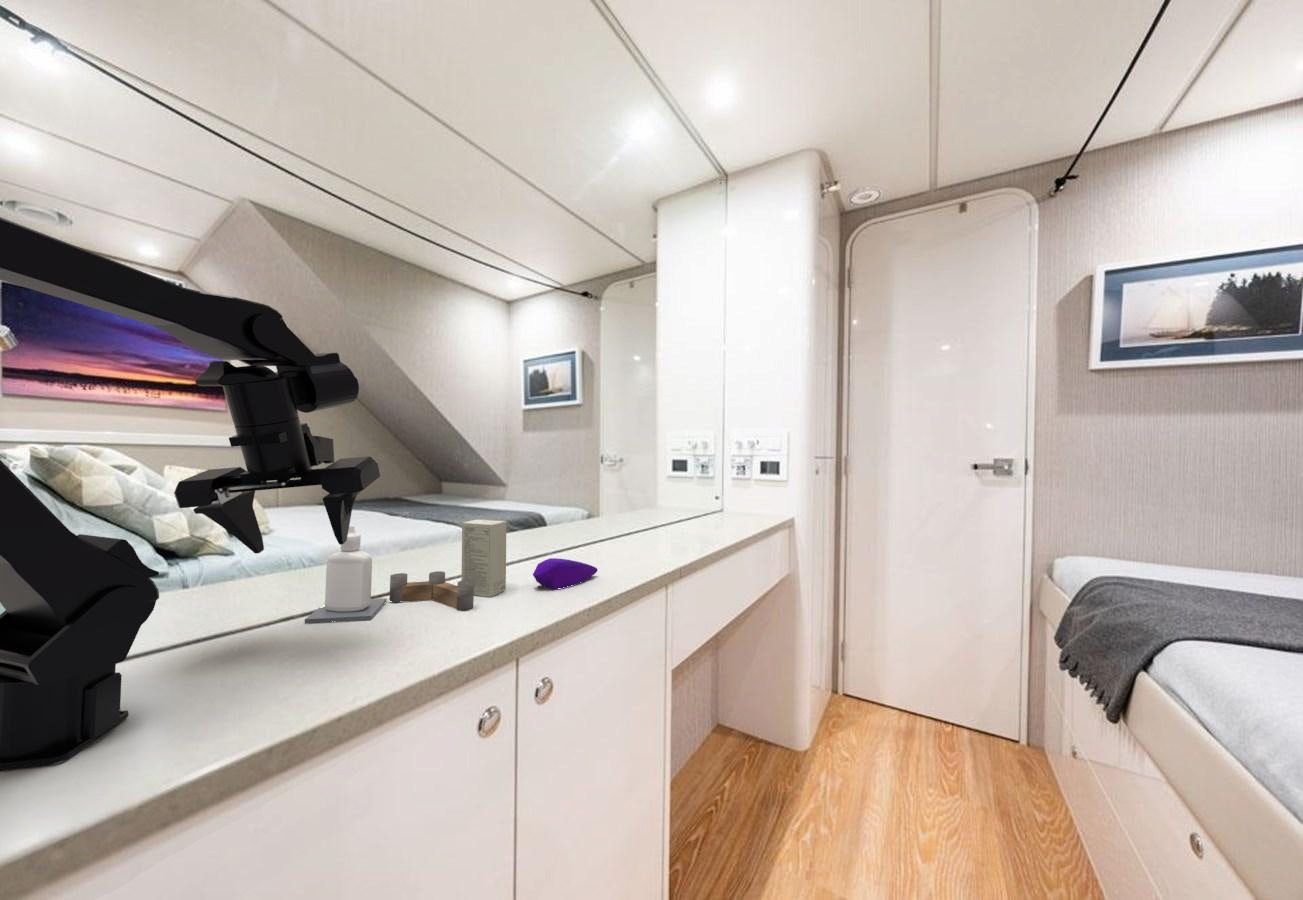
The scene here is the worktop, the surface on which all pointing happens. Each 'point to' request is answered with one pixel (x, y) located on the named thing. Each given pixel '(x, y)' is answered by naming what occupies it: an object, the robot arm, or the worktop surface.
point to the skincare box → (484, 555)
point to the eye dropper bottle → (349, 577)
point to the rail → (433, 590)
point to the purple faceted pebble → (562, 573)
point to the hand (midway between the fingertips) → (302, 547)
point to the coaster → (346, 613)
